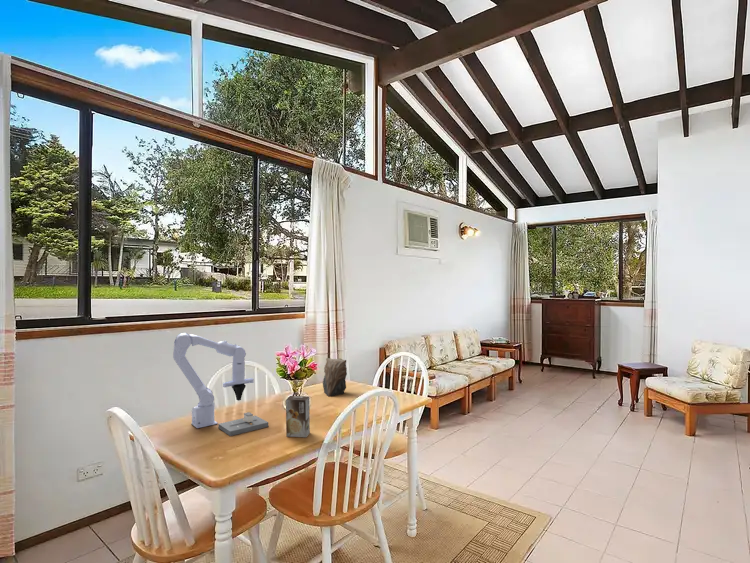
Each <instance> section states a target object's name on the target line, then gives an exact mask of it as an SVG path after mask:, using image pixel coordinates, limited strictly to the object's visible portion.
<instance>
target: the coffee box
mask: <svg viewBox="0 0 750 563" xmlns="http://www.w3.org/2000/svg"><path fill="white" fill-rule="evenodd" d="M310 417H311V416H310V396H308V395H307V396H306V395H303V396H302V395H289V396H288V397H287V398H286V399H285V422H286V423H285V430H286V431H285V433H286V434H285V435H286V436H285V437H288V438H289V437H292V438H295V437H296V438H308V436H309V435H310V433H311V430H310V429H311V428H310V427H311V426H310V425H311V424H310V422H311V421H310V420H311V419H310Z"/></svg>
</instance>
